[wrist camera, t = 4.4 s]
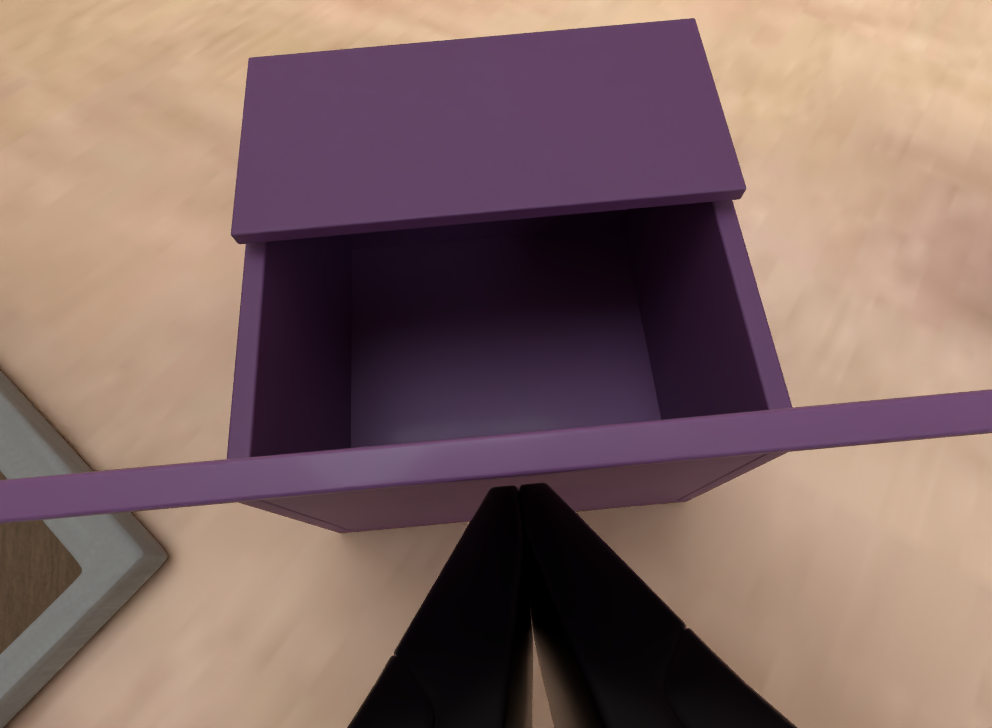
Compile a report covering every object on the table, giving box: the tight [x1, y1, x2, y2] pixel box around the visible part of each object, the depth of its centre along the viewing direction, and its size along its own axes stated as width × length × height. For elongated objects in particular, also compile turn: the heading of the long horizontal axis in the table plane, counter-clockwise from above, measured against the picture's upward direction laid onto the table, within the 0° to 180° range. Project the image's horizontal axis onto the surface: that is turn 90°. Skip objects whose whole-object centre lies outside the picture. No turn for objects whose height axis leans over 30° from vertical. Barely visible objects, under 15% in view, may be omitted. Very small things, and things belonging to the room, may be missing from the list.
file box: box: [227, 18, 792, 533], centre depth 16 cm, size 11×12×9 cm
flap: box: [0, 390, 992, 524], centre depth 8 cm, size 5×11×1 cm
